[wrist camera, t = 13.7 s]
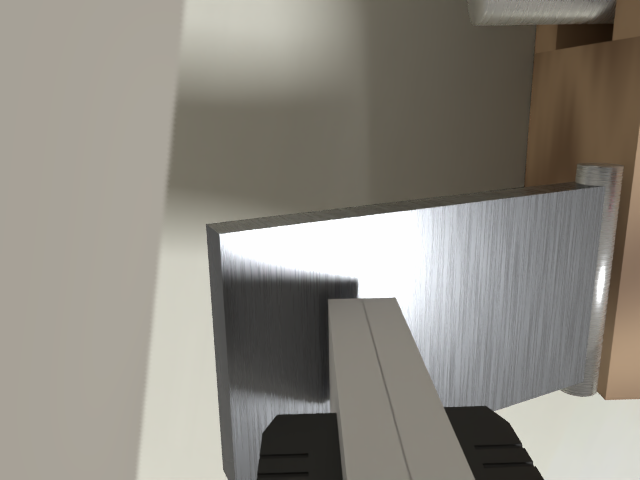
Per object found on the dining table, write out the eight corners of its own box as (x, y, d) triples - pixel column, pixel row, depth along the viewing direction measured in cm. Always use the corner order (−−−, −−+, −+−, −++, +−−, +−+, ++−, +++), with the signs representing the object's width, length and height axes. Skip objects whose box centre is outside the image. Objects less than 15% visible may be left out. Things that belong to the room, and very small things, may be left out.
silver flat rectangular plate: (596, 161, 17) (203, 199, 12) (633, 165, 16) (219, 210, 11) (573, 374, 19) (223, 485, 14) (605, 390, 18) (238, 517, 13)
